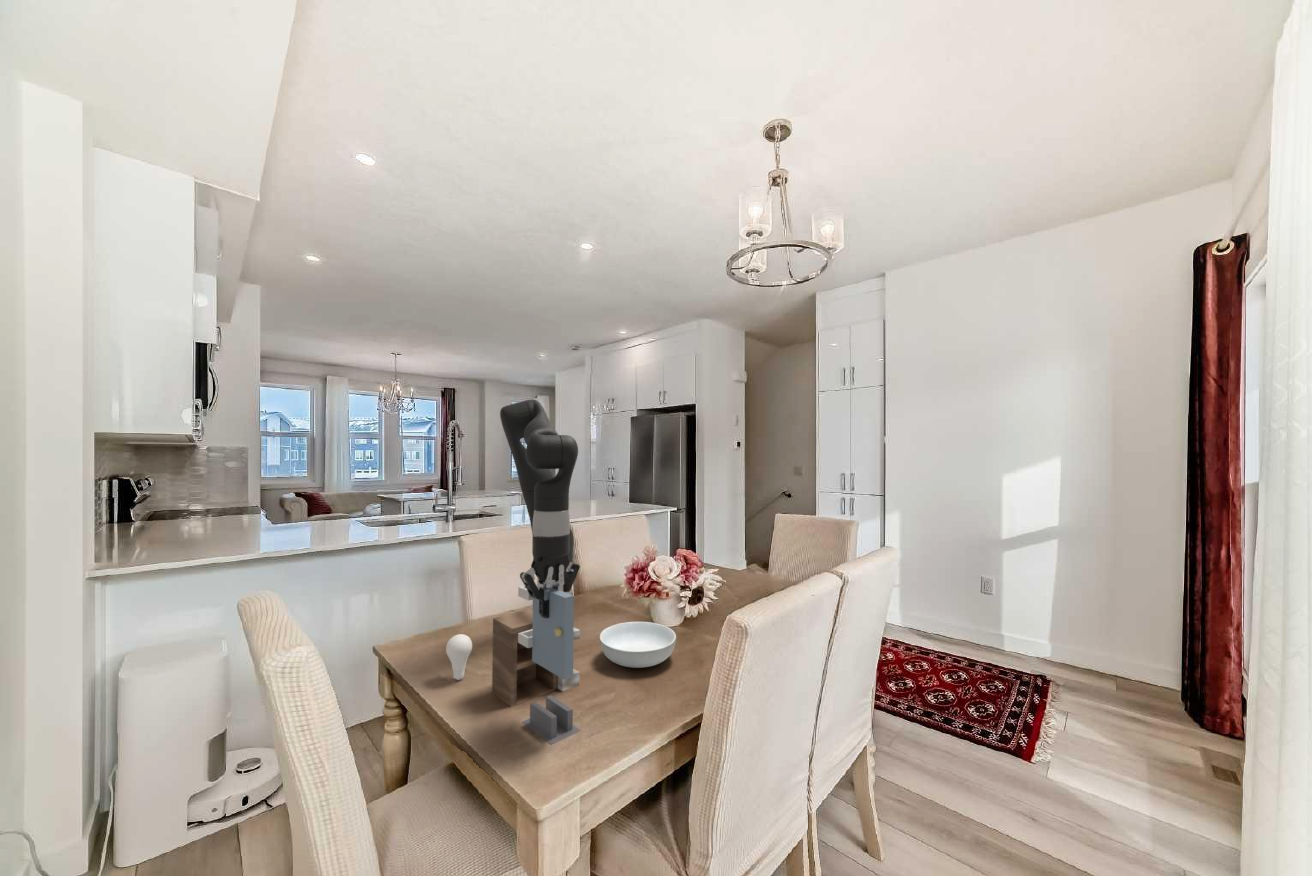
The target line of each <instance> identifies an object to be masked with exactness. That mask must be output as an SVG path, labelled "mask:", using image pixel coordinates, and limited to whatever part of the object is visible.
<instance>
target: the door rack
mask: <svg viewBox="0 0 1312 876" xmlns="http://www.w3.org/2000/svg"><path fill="white" fill-rule="evenodd" d="M573 713H574V710H573V708H571V707H570V706H568V705H567V704H565V703H563V702H562V701H561V700H559V699H558V698H556V697H554V696H553V695H552V694H550V695H547V696H545V707H544V706H542V705H541V704H540V703H538V702H537V701H533V702H530V703H529V718H527V719H525V720H523V721H521V723H522V724H523V725H525V726H527V728H529V729H530V730H531V731H533V732H534V733H535V734H537V736H539V737H540V738H542V739H543V740H544V741H546V742H547V743H548V744H549V745H551V746H552V745H554V744H556V743H558V742H560V741H563V740H564V739H567V738H568V737H571V736H573V735H576V734H577V733H579V732H581V731H582V729H580V728H578V727H577V726H575V725H574V724H573V722H574V721H573V719H574V716H573V715H574V714H573Z"/></svg>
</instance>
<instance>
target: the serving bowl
mask: <svg viewBox="0 0 1312 876" xmlns="http://www.w3.org/2000/svg"><path fill="white" fill-rule="evenodd" d="M676 642H677V634H676V633H675V631H674V630H673V629H672V628H670V627H668V626H666V625H663V624H659V623H656V622H651V621H628V622H627V621H626V622H622V623H621V622H620V623H616V624H614V625H610V626H608V627H607V628H604V629H603V630H602V631H601V632H600V634H599V644H600V648H601V650H602V653H603V654H604V656H606V658H607V659H609V661H611V662H613V663H614V664H617V665H619V666H622V667H625V668H632V669H633V668H635V669H636V668H637V669H638V668H639V669H641V668H649V667H653V666H656V665H659V664H661V663H662V662H664V661H666V660H667V659H668V658H669V657H670V656H671V654H672V653H673V651H674V649H675V646H676Z"/></svg>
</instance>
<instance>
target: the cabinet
mask: <svg viewBox="0 0 1312 876" xmlns="http://www.w3.org/2000/svg"><path fill="white" fill-rule="evenodd" d="M531 629H533V608H529V609H524V610H521V611H517V612H513V613H508V614H504V615H501V616H498V617H494V618H492V661H491V662H492V666H491V667H492V669H491V670H492V674H491V675H492V676H491V677H492V678H491V679H492V681H491V682H492V683H491V684H492V685H491V692H492V693H493V695H495V696H496V697H498V698H499V699H500V700H502V701H503V702H504V703H506V704H507V705H508V706H510V707H514V706H518V705H520V704H522V703H525V702H527V701H529V700H532V699H535V698H538V697H540V696H543V695H546V694H548V693H550V692H553V691H555V690H559V691H561V692H564V691H566V690H567V691H568V690H570V689H573V688H575V687H577V686H580V671H579V670H577V669H575V668H573V677H571V678H569V679H566V680H564V679H562V678H560V677H559V676H557V675H555V674H554V673H552V672H550V671H549V670H547V669H545V668H543V667H542V666H540V665H538V664H537V663H535V662H533V661H532V647H530V648H527V647H525V646H523V645H521V644H520V643H518V633H521V632H524V631H528V630H531ZM579 639H581V630H580V629H578V628H577V627H574V630H573V642H575V641H577V640H579Z"/></svg>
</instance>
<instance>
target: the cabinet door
mask: <svg viewBox="0 0 1312 876" xmlns="http://www.w3.org/2000/svg"><path fill="white" fill-rule="evenodd" d="M535 584H536V586H537V583H536V582H535ZM537 588H538V586H537ZM517 590H518V591H517V592H518V594H517V595H518V596H517V597H519V598H521V599H524V600H526V601H532V609H533V629H531V630H528V631H524V632H521V633H518V643H520V644H521V645H523V646H525V647H527V648H530V647H532V661H533V662H535V663H537V664H538V665H540V666H542V667H543V668H545V669H547V670H549V671H550V672H552V673H554V674H555V675H557V676H559V677H560V678H562V679H564V680H566V679H569V678H571V677H573V669H574V641H573V630H574V628H575V627H574V626H575V625H574V623H575V621H574V619H575V615H574V613H575V609H574V606H575V599H574V598H575V597H574V596H575V595H573V594H572V593H571V594H568V593H565V592H563V591H560V590H557V589H555V588H552V587H551V588H550V591H549V599H548V600H549V618H546V619H545V618H543V617H541V615H540V614H539V599H536V598H534V597H531V596H530V594H529V593H528V591H527V589H526V587H525V585H520V586H518V589H517Z"/></svg>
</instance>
